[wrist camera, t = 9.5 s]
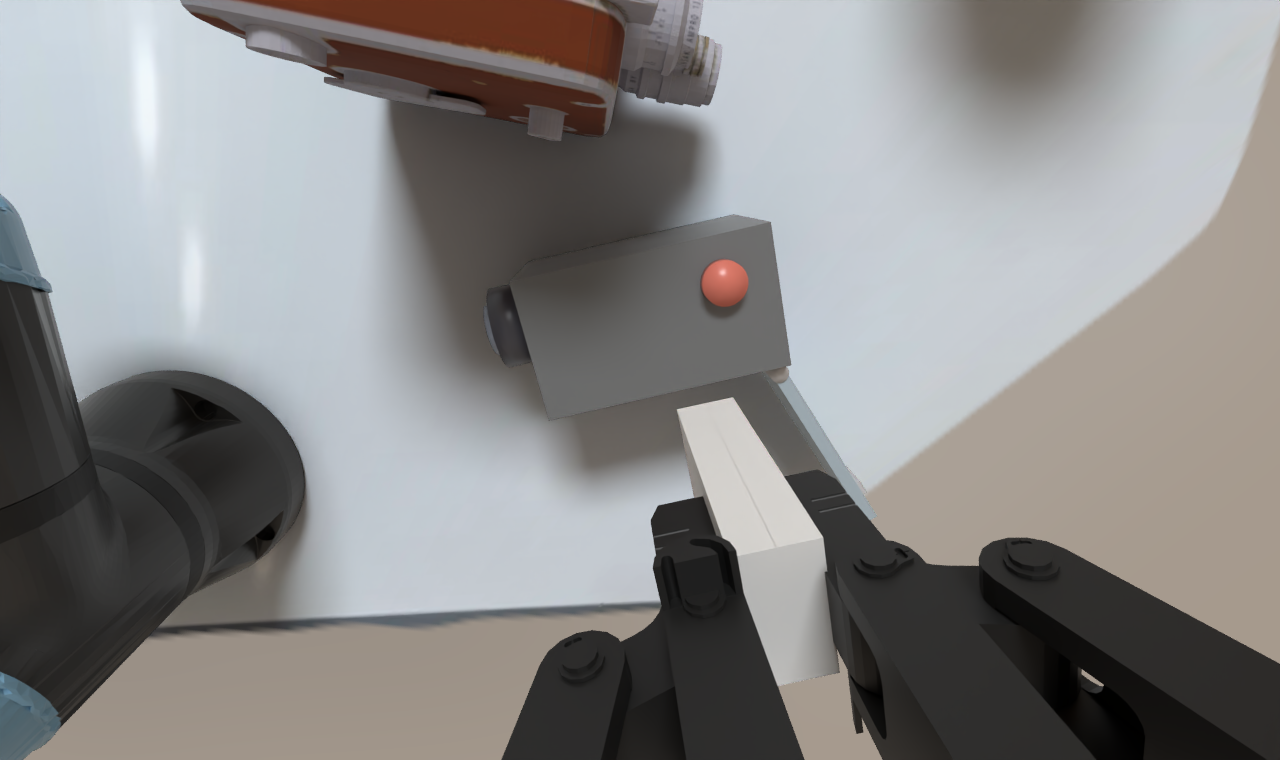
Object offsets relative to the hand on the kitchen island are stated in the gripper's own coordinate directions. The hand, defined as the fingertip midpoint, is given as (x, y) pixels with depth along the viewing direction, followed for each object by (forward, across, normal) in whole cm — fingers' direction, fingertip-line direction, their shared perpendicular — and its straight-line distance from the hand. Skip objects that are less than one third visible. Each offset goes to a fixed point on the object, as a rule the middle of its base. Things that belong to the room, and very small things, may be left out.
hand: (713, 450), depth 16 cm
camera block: (+26, -1, -1) cm, 26 cm away
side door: (+25, +9, -10) cm, 29 cm away
